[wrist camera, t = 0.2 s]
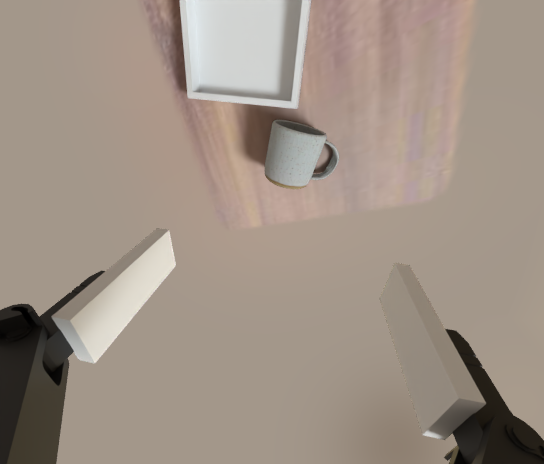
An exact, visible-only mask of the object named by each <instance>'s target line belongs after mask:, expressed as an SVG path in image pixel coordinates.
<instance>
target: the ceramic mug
mask: <svg viewBox="0 0 544 464" xmlns="http://www.w3.org/2000/svg"><path fill="white" fill-rule="evenodd" d="M326 138H327V135H326V134H325V133H324V132H322V131H320V130H318V129H315V128H313V127H309V126H306V125H304V124H300V123H297V122H292V121H287V120H274V121H273V123H272V128H271V134H270V139H269V144H268V151H267V156H266V161H265V176H266V178H267V179H268V180H269V181H270V182H272V183H273V184H275V185H277V186H280V187H283V188H288V189H301V188H304V187H305V186H306V185H307V184H308V183H309V181H310V179H312V180H320V179H324V178H326V177H328V176H329V175H330V174H331V173H332V172H333V171H334V169H335V168H336V166H337V164H338V160H339V153H338V151H337V149H336V147H335V146H334V145H333V144H332V143H330V142H329V141H327V140H326ZM324 143H326V144H328V145H329V146H330V147H331V148H332V150H333V156H332V159H331V161H330V163H329V165H328V166H327V167H326V170H325V171H324V172H322V173H320V174H313V172H314V169H315V166H316V163H317V161H318V158H319V156H320V153H321V151H322V148H323V146H324Z"/></svg>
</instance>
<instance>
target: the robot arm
mask: <svg viewBox="0 0 544 464" xmlns="http://www.w3.org/2000/svg"><path fill="white" fill-rule="evenodd" d="M175 266H176V263H175V258H174V253H173V248H172V243H171V237H170V233H169V230H166V229H159V228H157V229H156V230H155V231H153V232H152V233H151V234H150V235H149V236H147V237H146V238H145V239H144V240H143V241H141V242H140V243H139V244H138V245H137V246H135V247H134V248H133V249H132V250H131V251H129V252H128V253H127V254H126V255H124V256H123V257H122V258H121V259H120V260H119V261H117V262H116V263H115V264H114V265H113V266H111V267H110V268H109V269H108V270H107V271H100V272H98V273H96V274H94V275H92V276H90V277H89V278H87V279H86V280H85V281H84V282H82V283H81V284H80V286H78V287H76V288H75V289H74V290H72V292H71V293H69V294H67V295H66V296H65V297H64V298H62V299H61V300H60V301H59V302H57V303H56V304H55V305H54V306H52V307H51V308H50V309H49V310H47V311H46V312H45V313H44V314H42V315H41V316H40V317H39V316H38V315H37V313H36V312H35V310H34V309H33V307H32V306H30V305H29V304H18V305H12V306H10V307H7V308H4V309H2V310H0V464H56V460H57V452H58V445H59V437H60V429H61V422H62V415H63V406H64V399H65V392H66V383H67V376H68V368H69V361H68V359H67V358H68V357H69V356H70V355H71V354H72V353H73V352H74V353H75V354H76V356H77V358H78V359H79V360H82V361H87V362H91V363H96V361H97V360H98V359H99V358H100V357H101V356H102V354H103V353H104V352H105V351H106V349H107V348H108V347H109V346H110V345H111V343H112V342H113V341H114V340H115V339H116V337H117V336H118V335H119V334H120V333H121V331H122V330H123V329H124V328H125V326H126V325H127V324H128V323H129V322H130V320H131V319H132V318H133V317H134V316H135V314H136V313H137V312H138V311H139V309H140V308H141V307H142V306H143V305H144V303H145V302H146V301H147V300H148V299H149V297H150V296H151V295H152V294H153V293H154V291H155V290H156V289H157V288H158V286H159V285H160V284H161V283H162V282H163V280H164V279H165V278H166V277H167V276H168V274H169V273H170V272H171V271H172V270H173V268H174V267H175ZM380 301H381V305H382V308H383V311H384V314H385V318H386V321H387V324H388V327H389V330H390V334H391V337H392V340H393V343H394V346H395V349H396V353H397V356H398V359H399V362H400V365H401V369H402V372H403V375H404V378H405V381H406V384H407V388H408V391H409V394H410V397H411V400H412V404H413V407H414V410H415V413H416V416H417V419H418V423H419V426H420V429H421V432H422V435H425V436H429V437H434V438H438V439H443V440H445V439H446V438H447V437H449V436H450V435H451V434H452V433H453V435H454V437H455V439H456V442H457V444H458V445H457V446H456V447H455V448H454V449H452V450H451V451H450V452H449V453H447V455H446V456H445V457H444V458H445V459H446V460H449V459H450V458H451V459H450V462H449V464H544V440H543V439H542V438H541V437H540V436H539V435H538V433H537V432H536V431H535V430H533V429H532V428H531V427H530V426H529V425H527V424H526V423H525V422H524V421H522V420H520V419H519V418H517V417H515V416H513V414H512V413H511V412H510V410H509V409H508V407H507V405H506V404H505V402H504V401H503V399H502V397H501V396H500V394H499V392H498V391H497V389H496V387H495V386H494V384H493V383H492V381H491V379H490V378H489V376H488V374H487V373H486V371H485V370H484V369H483V368H482V365H481V363H480V361H479V360H478V358H476V355H475V353H474V352H473V350H472V348H471V347H470V346H469V344H468V342H467V341H466V340H465V339H464V338H463V337H462V336H461V335H460V334H459V333H458V332H457V331H454V330H448V329H445V328H444V326H443V324H442V323H441V321H440V319H439V317H438V315H437V314H436V312H435V310H434V308H433V307H432V305H431V303H430V301H429V299H428V298H427V296H426V294H425V292H424V290H423V288H422V286H421V285H420V283H419V281H418V279H417V278H416V276H415V274H414V272H413V271H412V268H411V267H410V265H406V264H399V263H395V264H394V266H393V269H392V271H391V273H390V275H389V278H388V280H387V282H386V285H385V287H384V290H383V292H382V294H381V297H380Z"/></svg>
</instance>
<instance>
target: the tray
mask: <svg viewBox="0 0 544 464" xmlns="http://www.w3.org/2000/svg"><path fill="white" fill-rule="evenodd" d="M310 7H311V0H180V12H181V24H182V36H183V47H184V59H185V71H186V83H187V95H188V98H192V99H202V100H213V101H223V102H233V103H243V104H253V105H263V106H273V107H283V108H293V109H298V105H299V97H300V89H301V80H302V72H303V64H304V56H305V48H306V40H307V32H308V23H309V15H310Z"/></svg>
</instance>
